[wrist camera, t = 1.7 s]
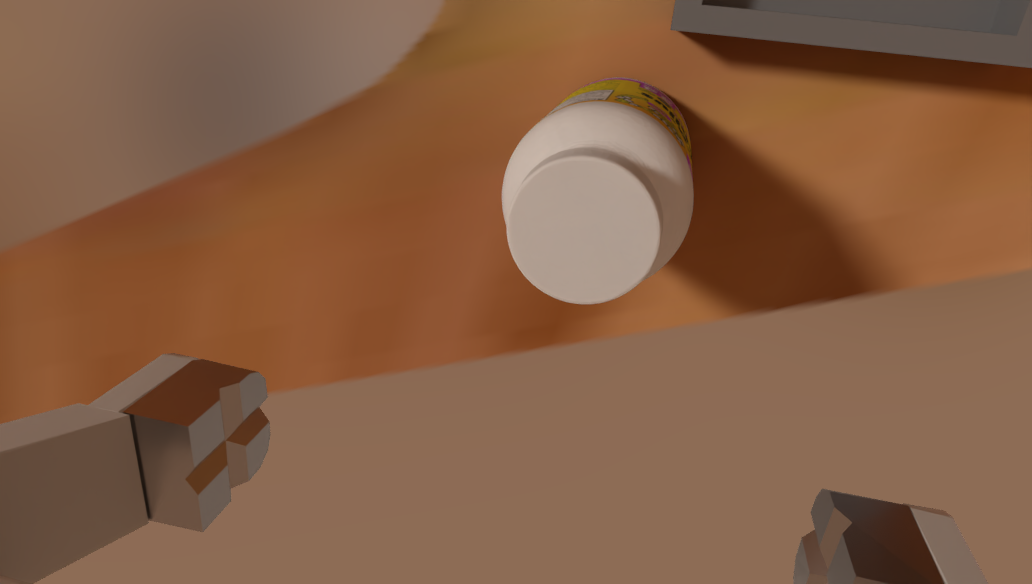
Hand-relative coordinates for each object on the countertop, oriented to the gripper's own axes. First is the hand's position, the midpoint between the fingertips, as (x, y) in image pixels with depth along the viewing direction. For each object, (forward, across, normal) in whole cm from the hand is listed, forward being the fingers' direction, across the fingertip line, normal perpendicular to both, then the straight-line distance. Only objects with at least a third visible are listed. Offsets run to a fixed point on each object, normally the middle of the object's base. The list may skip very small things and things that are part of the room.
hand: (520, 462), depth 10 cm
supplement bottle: (+24, 0, 0) cm, 24 cm away
